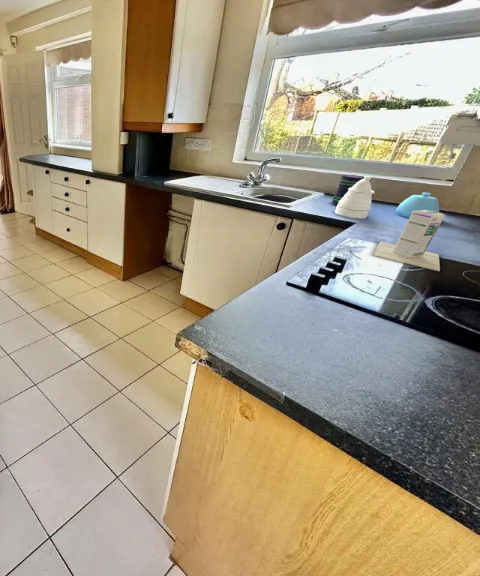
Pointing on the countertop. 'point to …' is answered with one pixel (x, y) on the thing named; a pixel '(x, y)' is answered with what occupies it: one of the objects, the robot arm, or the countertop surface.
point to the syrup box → (418, 233)
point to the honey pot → (356, 200)
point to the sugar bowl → (418, 204)
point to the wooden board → (425, 261)
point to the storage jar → (345, 186)
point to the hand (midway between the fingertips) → (469, 160)
